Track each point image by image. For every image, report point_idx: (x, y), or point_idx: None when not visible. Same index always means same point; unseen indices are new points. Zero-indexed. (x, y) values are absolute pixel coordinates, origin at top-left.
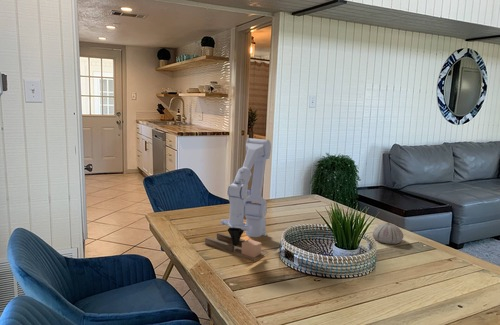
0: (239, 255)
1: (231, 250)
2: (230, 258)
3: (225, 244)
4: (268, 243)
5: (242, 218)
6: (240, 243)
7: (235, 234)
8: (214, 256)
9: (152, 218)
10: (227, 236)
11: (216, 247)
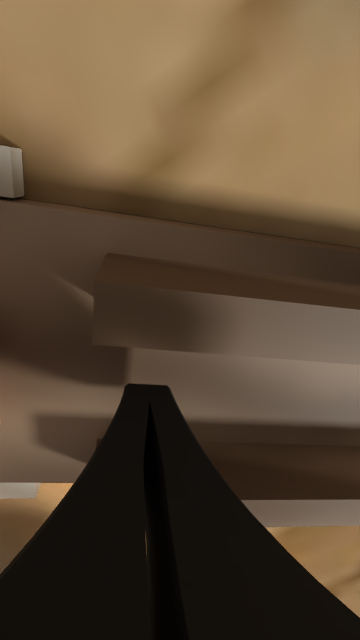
0: None
1: (110, 261)
2: (55, 131)
3: (239, 298)
4: None
5: None
6: None
7: (55, 577)
8: (287, 64)
9: None
10: (318, 501)
11: (350, 284)
